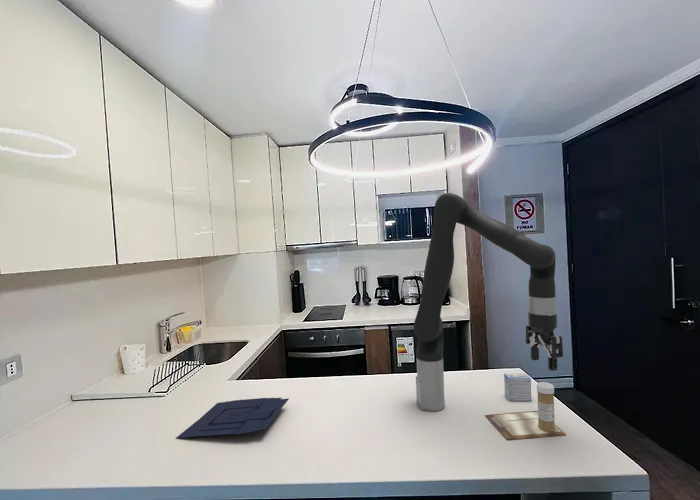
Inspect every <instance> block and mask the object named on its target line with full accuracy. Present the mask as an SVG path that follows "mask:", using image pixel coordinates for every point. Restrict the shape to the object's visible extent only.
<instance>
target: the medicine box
mask: <svg viewBox="0 0 700 500" xmlns="http://www.w3.org/2000/svg"><path fill="white" fill-rule="evenodd" d="M503 377H504V378H503V380H504V385H503V386H504V397H505V398H506V399H507V401H508V402H531V401H532V378H531V376H529V375H528V374H527V373H526V372H524V373H523V372H520V373H519V372H518V373H517V372H514V373H511V372H510V373H503Z"/></svg>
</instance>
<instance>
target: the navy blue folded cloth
mask: <svg viewBox="0 0 700 500" xmlns="http://www.w3.org/2000/svg"><path fill="white" fill-rule="evenodd" d="M289 400H290V398H282V397H261V398H258V397H257V398H248V399H236V400H229V401H228V400H227V401H221V402H216V403H215V405H214V406H212V407H211V408H209V410H208V411H206V413H204V414H203V415H202V416H201V417H200V418H199V419H198V420H196V421H195V422H194V423H192V424H191V425H190V426H189V427H187V428H186V429H185V430H183V431H182V432H181V433H180V434H179V435H178V436H176V437H175V438H177V439H178V438H179V439H182V438H183V439H184V438H195V437H205V436H206V437H207V436H218V435H219V436H220V435H240V434H241V435H242V434H244V433H254V432H255V431H259V430H267V428H268V427H269V425H270V424H271V423H272V421H273V420H274V419H275V418H276V416H277V415H278V413H279V412H280V411H281V409H282V408H283V407H284V406H285V405H286V404H287V402H288V401H289Z"/></svg>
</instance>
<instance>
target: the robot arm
mask: <svg viewBox="0 0 700 500" xmlns="http://www.w3.org/2000/svg"><path fill="white" fill-rule="evenodd" d="M457 224H460V225H462V226H465V227H467V228H469V229H471V230H473V231H474V232H476V233H478V234H479V235H481V237H483V238H485V239H486V240H487V241H489V242H491V243H493V244H494V245H496V246H497V247H498V248H501V249H503V250H504V251H506V252H508V253H510V254H512V255H514V256H515V257H516V258H518V259H519V260H521V261H522V262H523V263H525V264H527V265H529V267H530V269H529V270H530V271H529V272H530V273H529V274H530V275H529V276H530V277H529V279H528V302H527V308H528V309H527V311H528V313H527V315H528V325H526V326H525V344H526V345H528V346H529V348H530V359H531V360H532V361H538V360H539V359H540V349H539V347H540V346H542V348H543V350H544V351H546V354H547V356H548V357H547V366H548V367H547V369H548V370H549V371H551V372H553V371H554V372H555V371H557V370H558V358H563V357H564V351H563V350H564V347H563V336H561V335H555V332H554V330H555V329H557V328H558V314H557V313H558V306H557V300H556V298H557V297H556V281H555V275H556V253H555V251H554V249H553V248H552V247H551V246H550V245H548V244H542V243H540V242H537V241H536V240H533V239H531V238H529V237H527V236H526V235H525V233H523V232H521V231H519V230H517V229H515V228H514V227H512V226H509V225H508V224H506V223H504V222H501V221H499V220H497V219H496V218H493V217H491V216H488V215H486V214H484V213H483V212H481V211H480V210H478V209H477V208H475V207H473V205H472V204H470V203H468V202H467V201H466V200H465V199H464V198H463V197H461V196H460V195H457V194H456V193H452V192H444V193H443V194H440V195H439V197H437V200H436V201H435V203H434V209H433V221H432V230H431V238H430V241H429V242H430V243H429V245H428V246H429V247H428V251H427V257H426V261H425V266H424V272H423V278H422V286H421V297H420V301H419V305H418V309H417V312H416V316H415V319H414V322H413V333H414V335H415V337H416V338H417V344H416V348H415V349H416V350H415V351H416V355H415V357H416V376H415V391H416V393H415V396H416V403H417V405H418V407H419V409H420V410H422V411H427V412H439V411H441V410H443V409H445V407H446V404H445V403H446V400H445V377H444V376H445V375H444V324H443V320H442V318H441V313H442V306H443V302H444V300H445V296H446V294H447V293H448V288H449V286H450V282H451V279H452V275H453V272H454V271H453V270H454V265H455V264H454V263H455V248H454V233H455V230H456V226H457Z"/></svg>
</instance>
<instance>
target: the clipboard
mask: <svg viewBox="0 0 700 500" xmlns="http://www.w3.org/2000/svg"><path fill="white" fill-rule="evenodd" d="M484 417H485V418H486V419H487V420H488V421H489V422H490V423H491V425H493V427H494V428H495V429H496V430H497V431H498V432H499V433H500V434H501V435H502V436H503V438H504V439H505V440H506V441H513V440H514V441H515V440H528V439H539V438H548V437H549V438H551V437H563V436H567V433H566V432H564V431H563V430H562V429H561V428H559V427H558V426H557V425H556V424H554V427H555V430H554V431H553V432H546V431H543V430H541V429H540V428H539V427H538V410H531V411H519V412H518V411H517V412H508V413H507V412H505V413H493V414H485V415H484Z"/></svg>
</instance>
